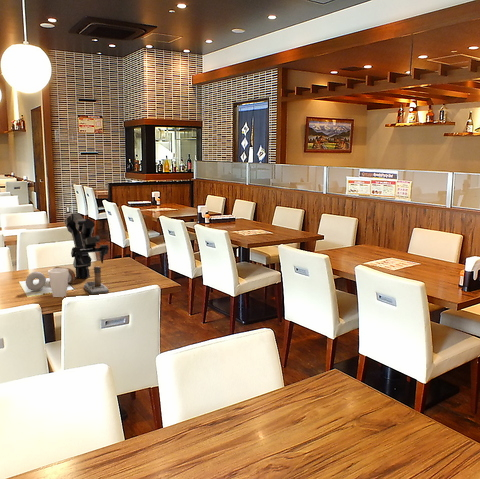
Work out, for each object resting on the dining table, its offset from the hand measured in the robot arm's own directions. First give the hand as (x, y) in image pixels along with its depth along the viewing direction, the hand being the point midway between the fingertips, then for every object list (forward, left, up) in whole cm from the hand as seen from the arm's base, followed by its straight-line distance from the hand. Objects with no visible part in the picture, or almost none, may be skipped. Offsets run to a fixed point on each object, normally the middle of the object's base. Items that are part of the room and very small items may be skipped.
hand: (93, 264), depth 250 cm
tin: (-22, +7, -13) cm, 26 cm away
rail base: (+2, -3, -13) cm, 13 cm away
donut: (-27, -10, -13) cm, 31 cm away
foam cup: (-11, -16, -13) cm, 24 cm away
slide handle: (+5, -6, -11) cm, 14 cm away
